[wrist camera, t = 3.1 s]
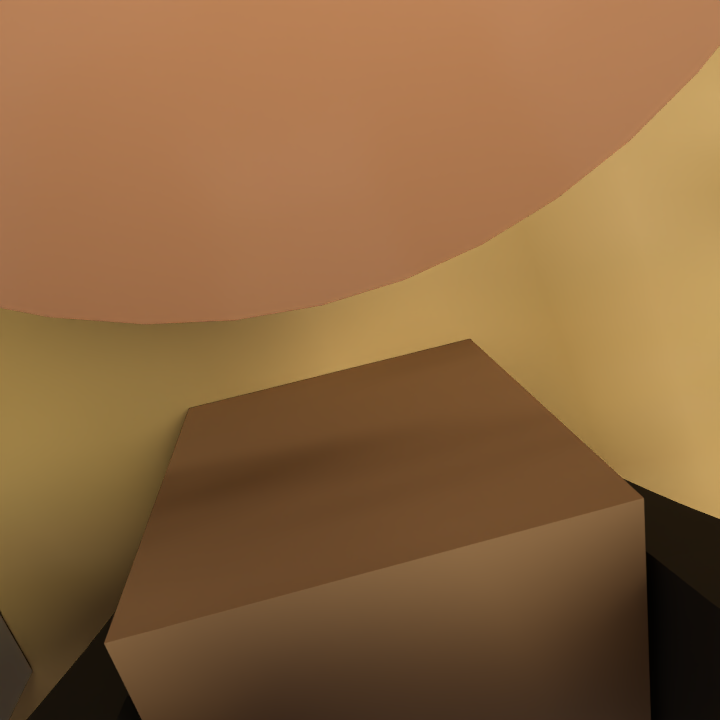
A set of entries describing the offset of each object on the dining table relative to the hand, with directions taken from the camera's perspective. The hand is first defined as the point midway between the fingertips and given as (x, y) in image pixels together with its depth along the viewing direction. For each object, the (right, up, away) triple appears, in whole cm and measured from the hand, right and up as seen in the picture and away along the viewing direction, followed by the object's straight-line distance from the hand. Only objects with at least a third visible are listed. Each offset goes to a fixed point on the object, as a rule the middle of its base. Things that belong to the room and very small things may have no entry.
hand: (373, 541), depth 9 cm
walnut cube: (0, 0, +1) cm, 1 cm away
